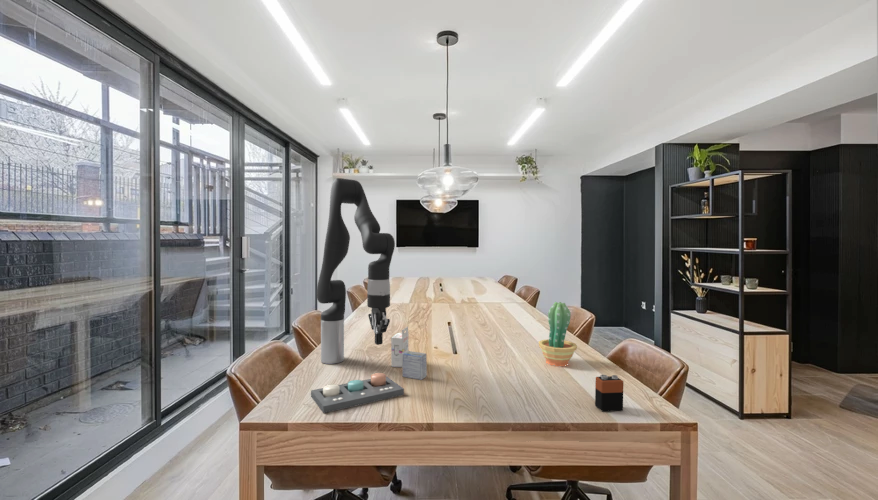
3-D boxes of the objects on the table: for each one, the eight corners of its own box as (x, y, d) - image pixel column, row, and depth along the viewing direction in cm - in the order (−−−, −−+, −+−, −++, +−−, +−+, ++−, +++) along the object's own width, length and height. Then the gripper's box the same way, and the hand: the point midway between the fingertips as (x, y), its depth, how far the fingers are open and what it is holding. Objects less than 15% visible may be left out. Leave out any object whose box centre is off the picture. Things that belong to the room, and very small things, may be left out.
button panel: (311, 396, 125) (311, 389, 125) (385, 381, 139) (385, 375, 139) (323, 413, 113) (323, 405, 113) (403, 394, 127) (404, 388, 127)
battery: (594, 405, 120) (595, 373, 119) (615, 405, 120) (616, 372, 120) (601, 412, 115) (602, 378, 115) (623, 411, 116) (624, 377, 116)
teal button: (345, 390, 128) (345, 381, 128) (360, 387, 131) (360, 378, 131) (350, 396, 124) (350, 386, 124) (365, 392, 127) (365, 383, 127)
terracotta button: (368, 383, 133) (368, 374, 132) (382, 380, 135) (382, 372, 135) (374, 388, 128) (374, 379, 128) (388, 385, 131) (388, 376, 131)
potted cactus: (584, 364, 159) (586, 303, 158) (560, 371, 150) (561, 307, 150) (554, 355, 172) (555, 298, 171) (529, 361, 163) (530, 301, 162)
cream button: (321, 395, 124) (321, 386, 124) (336, 392, 127) (336, 383, 127) (325, 401, 120) (325, 391, 120) (341, 398, 122) (341, 388, 122)
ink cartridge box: (397, 360, 163) (397, 325, 163) (408, 361, 162) (408, 325, 162) (390, 366, 155) (390, 329, 154) (402, 367, 154) (402, 330, 153)
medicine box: (426, 376, 144) (427, 353, 144) (421, 380, 140) (421, 356, 140) (408, 373, 147) (408, 350, 147) (402, 377, 143) (402, 353, 143)
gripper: (360, 291, 135) (360, 341, 135) (376, 295, 123) (376, 350, 124) (381, 289, 139) (380, 338, 139) (397, 294, 127) (397, 347, 128)
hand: (378, 344), depth 131 cm, fingers closed
